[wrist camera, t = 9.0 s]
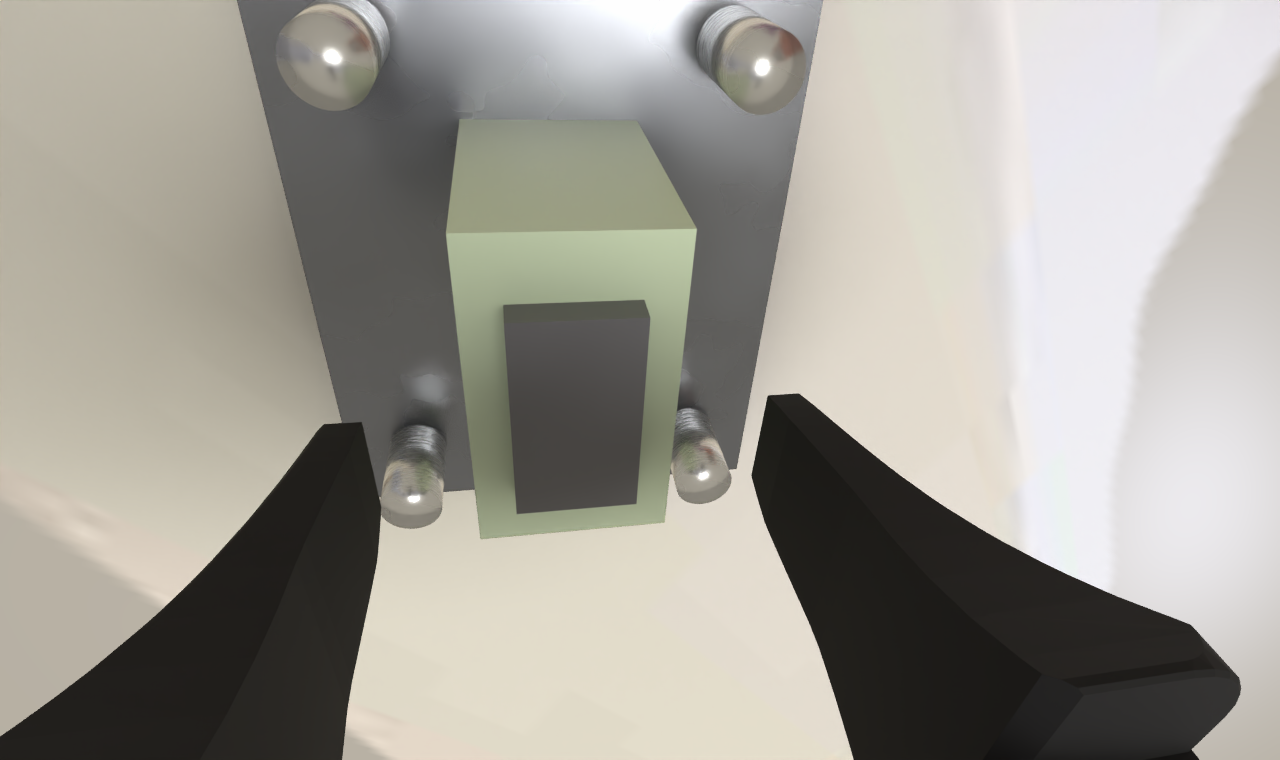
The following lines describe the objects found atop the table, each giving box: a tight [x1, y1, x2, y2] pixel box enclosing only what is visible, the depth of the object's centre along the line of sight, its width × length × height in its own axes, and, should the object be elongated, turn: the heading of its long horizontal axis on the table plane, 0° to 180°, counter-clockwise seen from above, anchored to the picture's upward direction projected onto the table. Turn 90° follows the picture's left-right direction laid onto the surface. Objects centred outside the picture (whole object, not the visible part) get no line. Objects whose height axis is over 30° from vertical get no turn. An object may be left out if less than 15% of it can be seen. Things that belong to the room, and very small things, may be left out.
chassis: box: [237, 0, 823, 529], centre depth 18 cm, size 12×15×4 cm
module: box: [446, 119, 697, 539], centre depth 15 cm, size 4×7×7 cm, turn 177°
